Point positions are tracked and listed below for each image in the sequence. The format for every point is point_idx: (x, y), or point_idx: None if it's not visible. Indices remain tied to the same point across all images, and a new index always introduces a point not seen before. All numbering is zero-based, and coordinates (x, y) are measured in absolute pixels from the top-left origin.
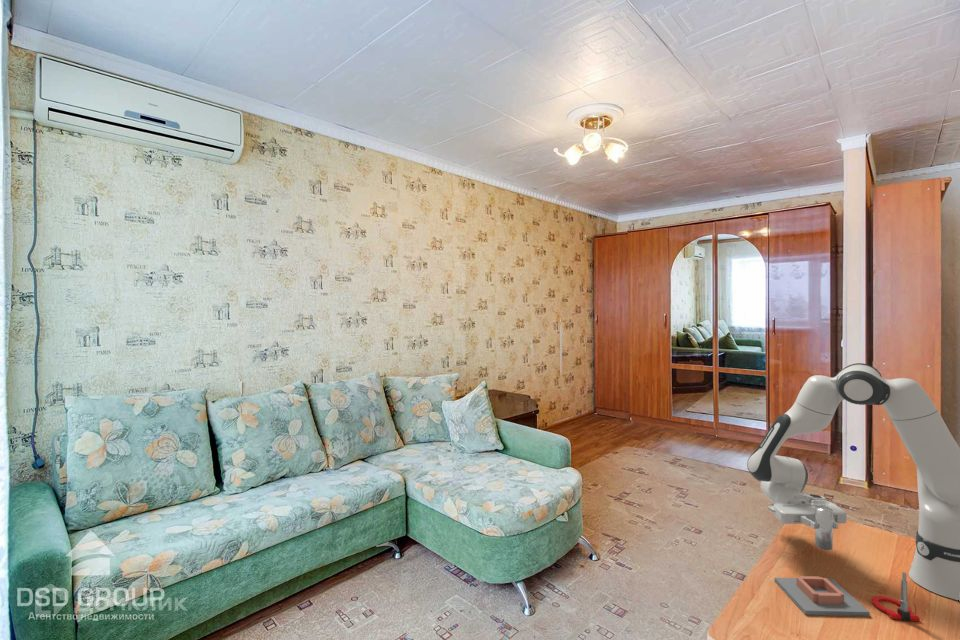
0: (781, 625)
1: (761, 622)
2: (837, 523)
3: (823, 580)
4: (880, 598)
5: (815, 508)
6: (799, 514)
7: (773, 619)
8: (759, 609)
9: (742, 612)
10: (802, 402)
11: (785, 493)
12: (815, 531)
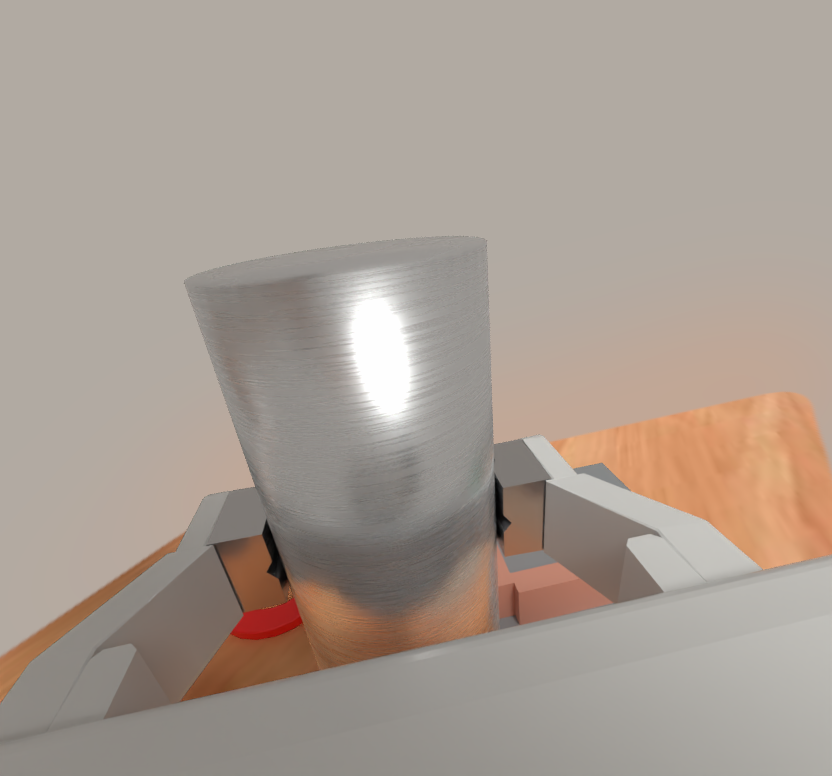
0: (663, 430)
1: (717, 425)
2: (208, 497)
3: (509, 574)
4: (282, 605)
5: (486, 260)
6: (811, 560)
7: (689, 440)
8: (743, 460)
9: (786, 439)
10: None
11: None
12: (498, 598)
